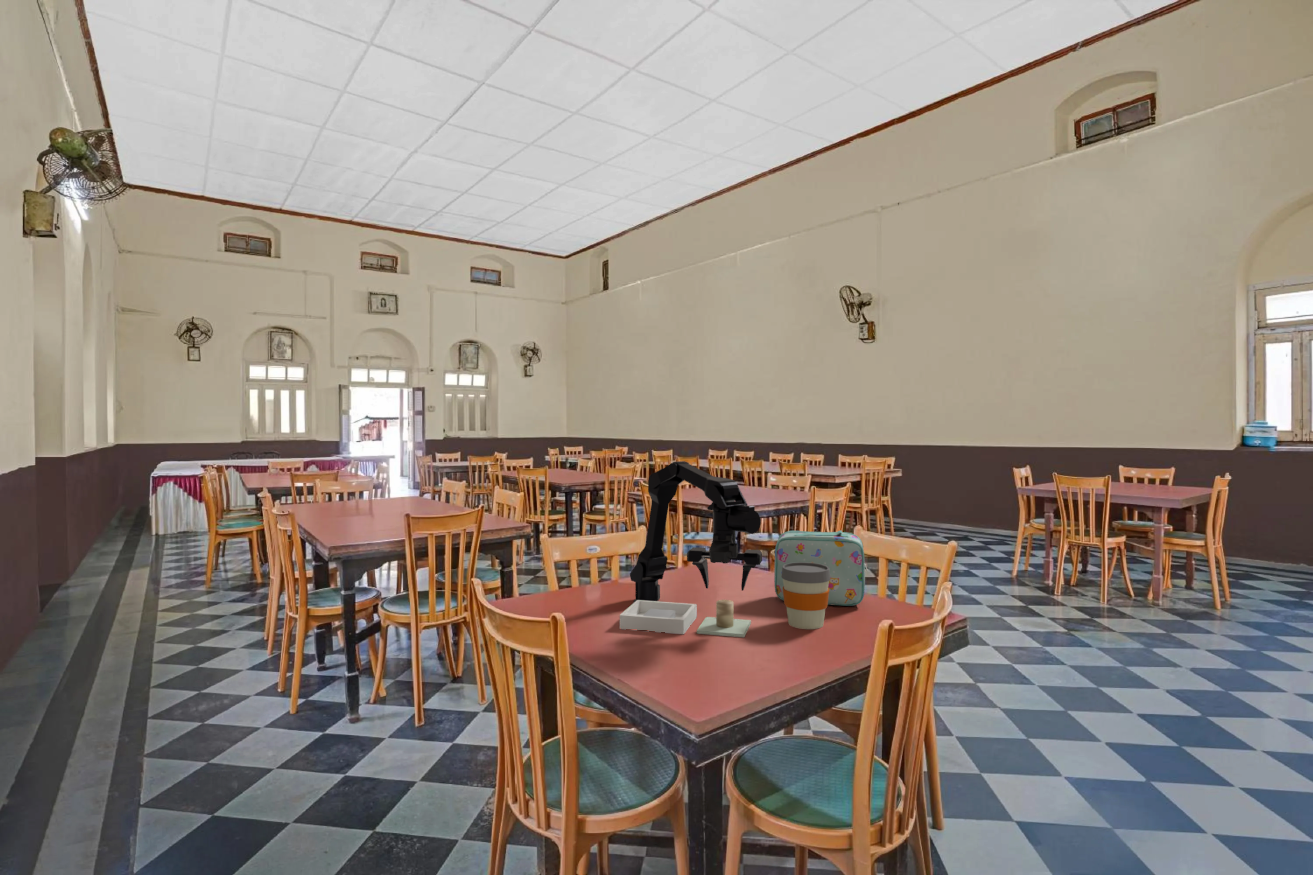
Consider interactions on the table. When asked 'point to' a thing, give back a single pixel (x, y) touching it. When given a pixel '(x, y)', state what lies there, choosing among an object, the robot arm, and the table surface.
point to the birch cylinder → (724, 613)
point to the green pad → (711, 628)
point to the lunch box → (825, 562)
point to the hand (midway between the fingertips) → (724, 589)
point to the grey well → (659, 616)
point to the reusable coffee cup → (805, 593)
